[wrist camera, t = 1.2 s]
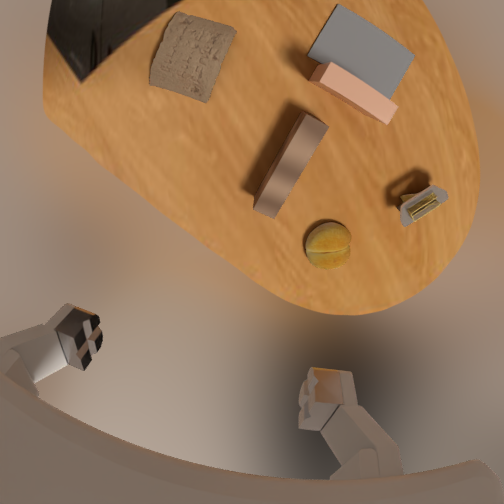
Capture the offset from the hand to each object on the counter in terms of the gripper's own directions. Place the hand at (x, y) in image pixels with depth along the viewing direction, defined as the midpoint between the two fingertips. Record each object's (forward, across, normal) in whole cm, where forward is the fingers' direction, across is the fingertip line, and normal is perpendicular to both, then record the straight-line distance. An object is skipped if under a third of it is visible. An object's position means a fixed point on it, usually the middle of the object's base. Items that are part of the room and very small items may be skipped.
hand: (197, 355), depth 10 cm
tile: (+37, -9, -16) cm, 41 cm away
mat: (+36, -11, -23) cm, 44 cm away
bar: (+38, -3, -3) cm, 38 cm away
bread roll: (+41, -13, +10) cm, 45 cm away
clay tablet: (+35, +14, -17) cm, 41 cm away
